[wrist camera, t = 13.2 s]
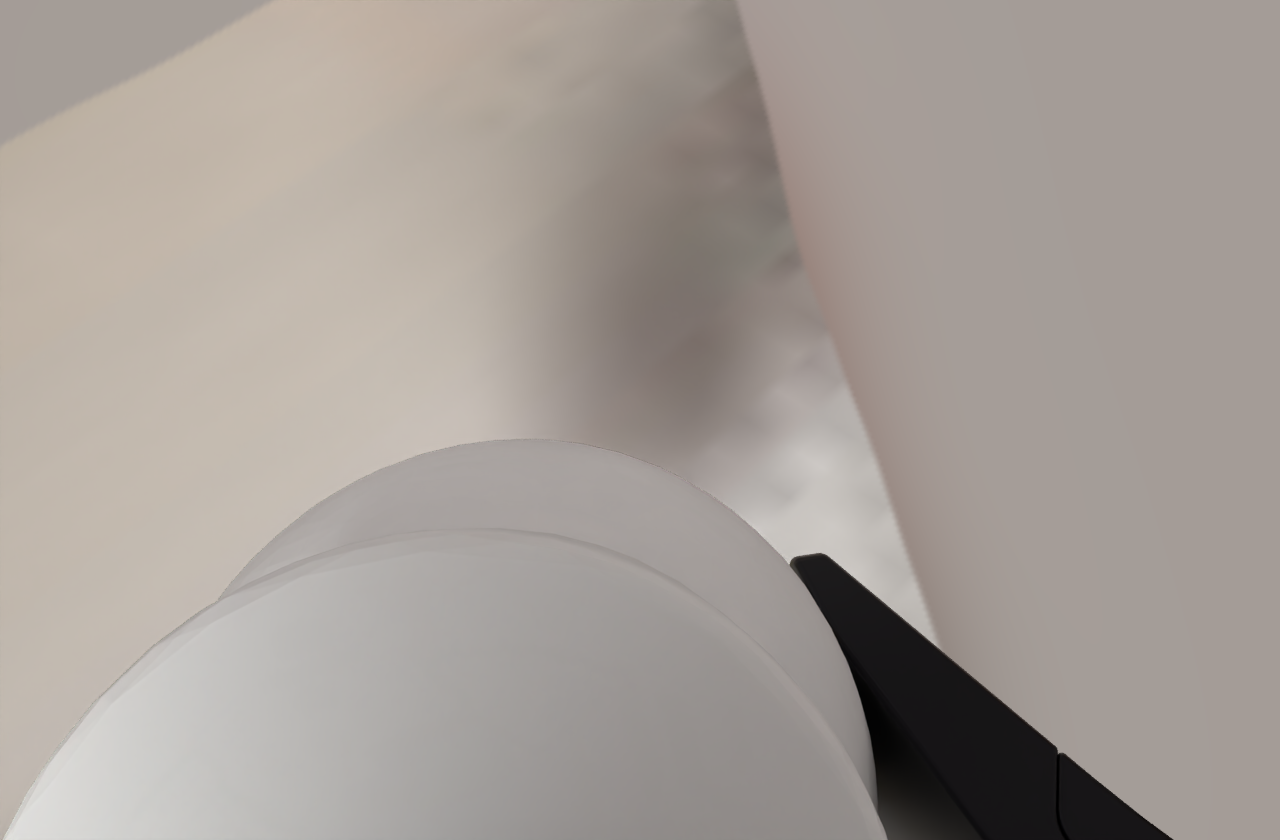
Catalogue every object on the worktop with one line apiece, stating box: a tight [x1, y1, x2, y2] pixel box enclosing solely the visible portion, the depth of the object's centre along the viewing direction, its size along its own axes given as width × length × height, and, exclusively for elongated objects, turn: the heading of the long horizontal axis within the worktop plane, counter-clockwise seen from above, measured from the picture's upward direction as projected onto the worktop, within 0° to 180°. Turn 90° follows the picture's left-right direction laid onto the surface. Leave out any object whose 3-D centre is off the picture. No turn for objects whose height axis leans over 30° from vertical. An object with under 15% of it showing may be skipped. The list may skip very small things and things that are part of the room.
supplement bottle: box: [3, 439, 887, 840], centre depth 10 cm, size 7×7×13 cm
